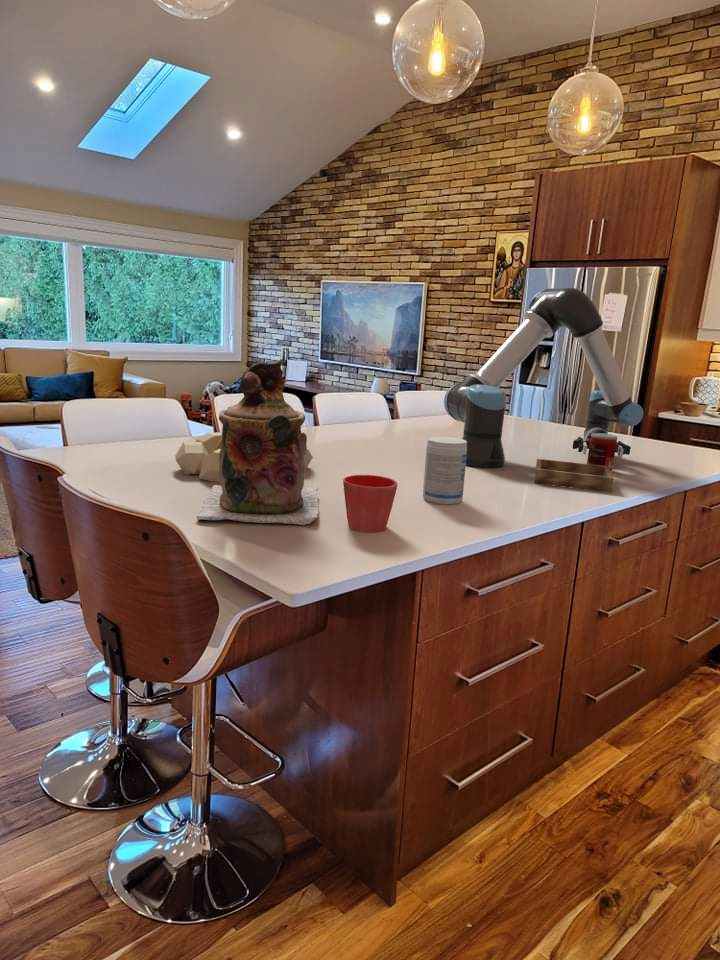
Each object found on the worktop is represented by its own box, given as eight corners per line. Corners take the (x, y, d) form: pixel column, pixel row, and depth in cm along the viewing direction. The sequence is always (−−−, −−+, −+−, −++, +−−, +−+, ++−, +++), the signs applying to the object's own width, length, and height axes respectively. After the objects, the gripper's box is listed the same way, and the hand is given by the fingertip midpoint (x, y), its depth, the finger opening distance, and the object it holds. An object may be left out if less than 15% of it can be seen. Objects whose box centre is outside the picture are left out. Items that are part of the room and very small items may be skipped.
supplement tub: (468, 505, 151) (474, 444, 147) (429, 506, 149) (435, 443, 145) (453, 494, 160) (459, 436, 157) (416, 494, 158) (421, 435, 154)
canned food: (608, 468, 204) (613, 434, 202) (615, 473, 196) (620, 438, 194) (583, 466, 205) (588, 432, 202) (589, 471, 197) (594, 436, 194)
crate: (534, 483, 177) (536, 469, 176) (535, 471, 192) (537, 458, 191) (611, 492, 172) (613, 478, 171) (606, 479, 187) (608, 466, 186)
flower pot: (366, 515, 138) (369, 471, 136) (404, 529, 131) (408, 482, 128) (329, 524, 131) (332, 477, 129) (367, 539, 123) (371, 490, 121)
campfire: (208, 452, 192) (209, 395, 188) (320, 462, 188) (323, 404, 184) (156, 479, 158) (155, 410, 154) (291, 492, 154) (293, 421, 150)
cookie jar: (212, 491, 150) (213, 351, 142) (318, 495, 152) (324, 358, 144) (193, 524, 126) (193, 358, 119) (319, 528, 128) (326, 365, 121)
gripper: (631, 455, 214) (640, 468, 193) (561, 447, 220) (563, 459, 199) (635, 432, 212) (644, 443, 191) (564, 425, 218) (566, 435, 197)
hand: (603, 451), depth 195 cm, fingers open, 10 cm apart
